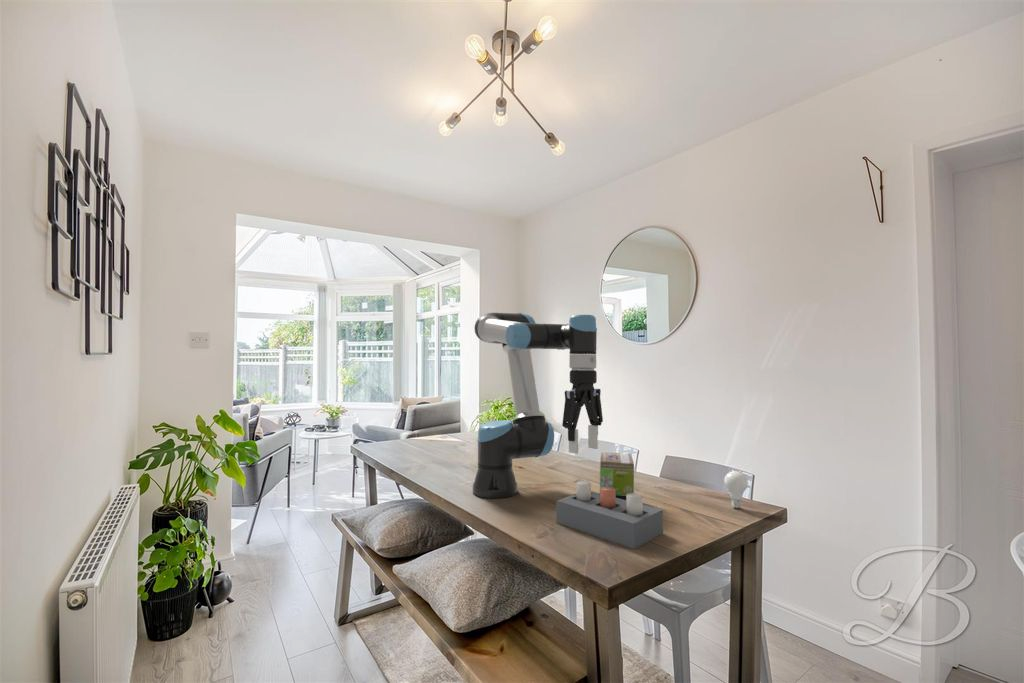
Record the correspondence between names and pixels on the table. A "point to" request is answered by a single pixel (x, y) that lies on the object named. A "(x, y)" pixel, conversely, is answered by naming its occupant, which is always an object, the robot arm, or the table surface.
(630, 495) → the grey plunger
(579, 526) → the board
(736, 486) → the lightbulb
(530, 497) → the table surface
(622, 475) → the tea box
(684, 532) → the table surface
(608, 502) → the brown egg
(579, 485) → the grey plunger
